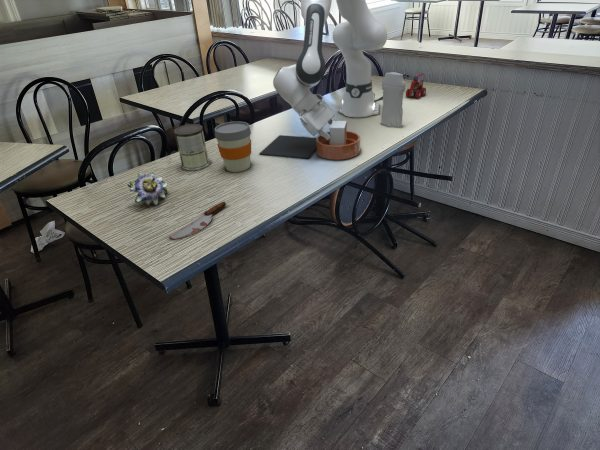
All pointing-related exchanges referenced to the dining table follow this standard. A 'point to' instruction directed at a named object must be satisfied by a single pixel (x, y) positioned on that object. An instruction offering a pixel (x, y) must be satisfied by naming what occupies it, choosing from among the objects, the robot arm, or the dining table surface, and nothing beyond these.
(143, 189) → the passion flower
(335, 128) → the small box
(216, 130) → the reusable coffee cup
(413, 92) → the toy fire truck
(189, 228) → the kitchen knife
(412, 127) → the dining table surface
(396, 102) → the tall pale column
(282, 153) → the mat
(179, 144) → the coffee can
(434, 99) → the dining table surface
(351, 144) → the bowl
